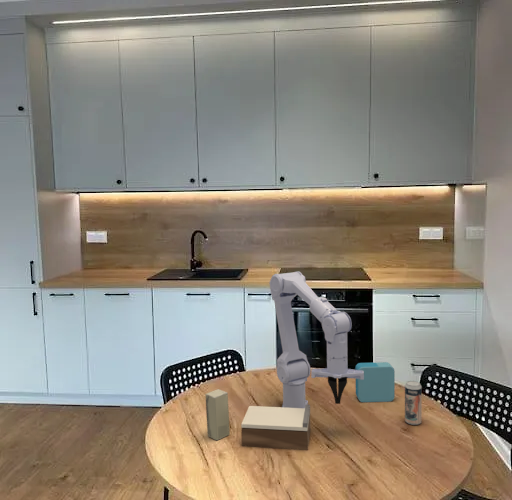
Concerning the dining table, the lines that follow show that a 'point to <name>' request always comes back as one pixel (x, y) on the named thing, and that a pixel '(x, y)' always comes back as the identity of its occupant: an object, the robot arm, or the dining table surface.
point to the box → (217, 414)
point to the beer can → (413, 402)
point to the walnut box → (276, 438)
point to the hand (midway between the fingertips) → (337, 402)
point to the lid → (277, 418)
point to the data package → (376, 382)
